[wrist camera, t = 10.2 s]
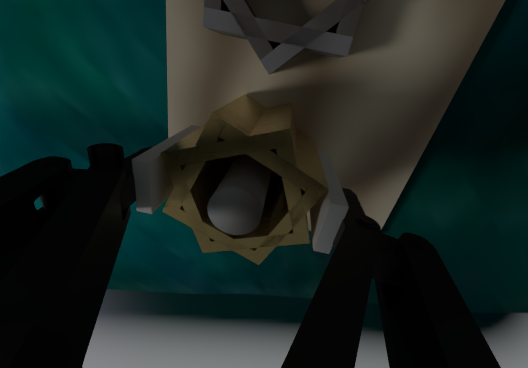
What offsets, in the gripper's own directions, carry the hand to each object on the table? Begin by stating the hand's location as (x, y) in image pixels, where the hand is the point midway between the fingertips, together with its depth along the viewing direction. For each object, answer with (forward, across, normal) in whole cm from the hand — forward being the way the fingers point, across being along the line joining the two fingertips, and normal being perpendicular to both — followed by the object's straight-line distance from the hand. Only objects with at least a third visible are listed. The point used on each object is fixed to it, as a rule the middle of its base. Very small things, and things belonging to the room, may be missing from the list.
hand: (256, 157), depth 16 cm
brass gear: (+1, 0, 0) cm, 1 cm away
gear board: (+3, +2, +4) cm, 6 cm away
